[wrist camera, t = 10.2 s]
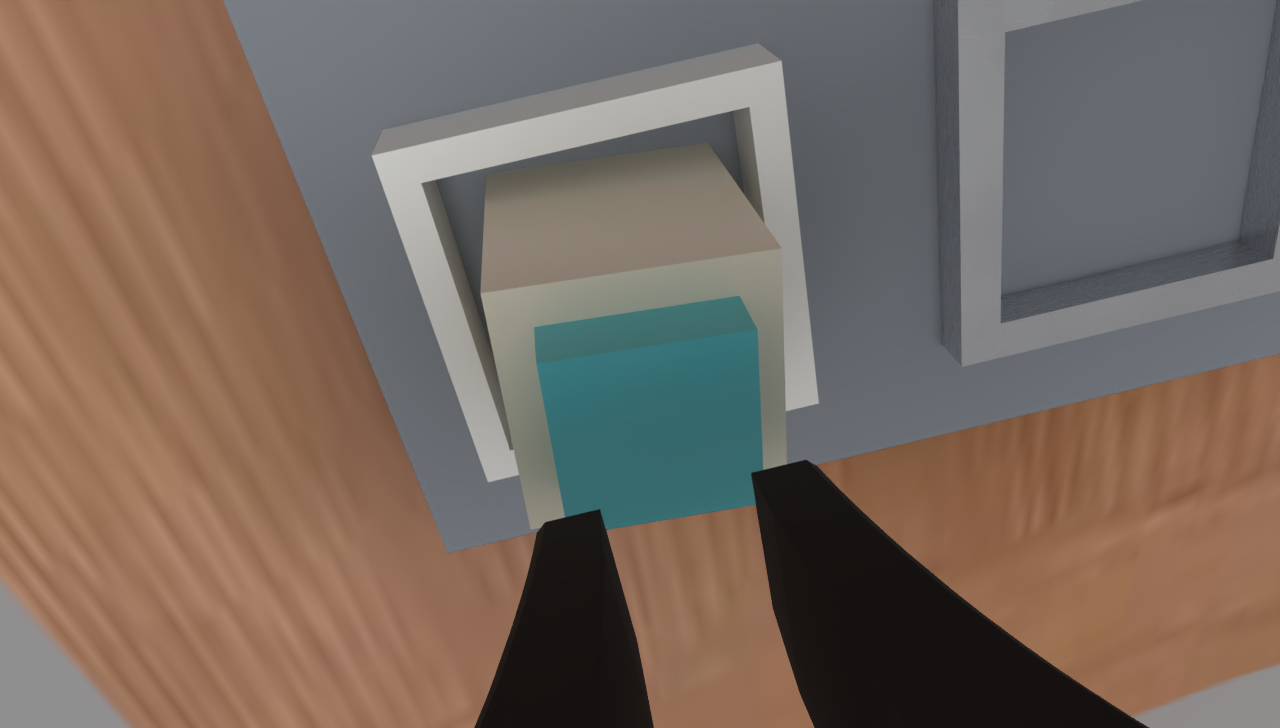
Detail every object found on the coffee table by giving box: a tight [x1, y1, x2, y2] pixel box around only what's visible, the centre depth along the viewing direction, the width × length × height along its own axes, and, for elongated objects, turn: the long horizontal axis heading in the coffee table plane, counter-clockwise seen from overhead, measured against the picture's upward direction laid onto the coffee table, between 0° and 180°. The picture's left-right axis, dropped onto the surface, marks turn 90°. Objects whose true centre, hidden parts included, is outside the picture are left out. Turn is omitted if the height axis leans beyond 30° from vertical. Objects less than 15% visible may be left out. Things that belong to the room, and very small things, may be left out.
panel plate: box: [223, 0, 1280, 553], centre depth 18 cm, size 20×12×1 cm, turn 101°
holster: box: [933, 0, 1280, 367], centre depth 17 cm, size 7×7×1 cm
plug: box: [480, 143, 787, 530], centre depth 15 cm, size 4×4×6 cm
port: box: [372, 43, 819, 482], centre depth 16 cm, size 7×7×2 cm
